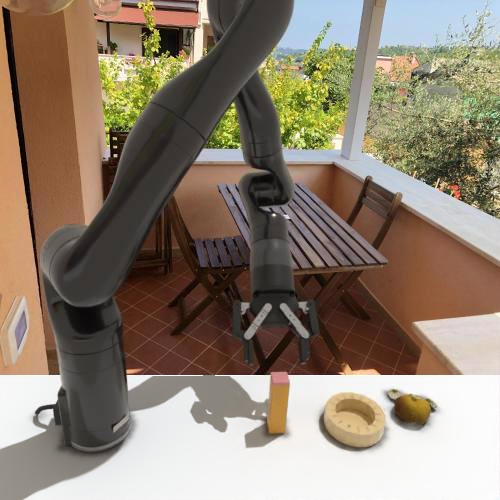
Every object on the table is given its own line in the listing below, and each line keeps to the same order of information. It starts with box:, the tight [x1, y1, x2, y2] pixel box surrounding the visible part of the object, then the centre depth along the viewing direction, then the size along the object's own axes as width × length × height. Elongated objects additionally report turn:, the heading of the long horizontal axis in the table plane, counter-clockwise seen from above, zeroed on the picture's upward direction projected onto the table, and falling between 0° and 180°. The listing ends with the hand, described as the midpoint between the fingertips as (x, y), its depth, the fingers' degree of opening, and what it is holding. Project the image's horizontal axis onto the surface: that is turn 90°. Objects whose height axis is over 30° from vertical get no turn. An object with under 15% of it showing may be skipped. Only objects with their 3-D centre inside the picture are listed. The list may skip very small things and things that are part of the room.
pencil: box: [266, 371, 291, 435], centre depth 68 cm, size 3×3×10 cm
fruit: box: [387, 388, 438, 426], centre depth 74 cm, size 8×8×4 cm
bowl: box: [323, 391, 386, 448], centre depth 71 cm, size 10×10×3 cm
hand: (277, 364), depth 69 cm, fingers open, 8 cm apart
